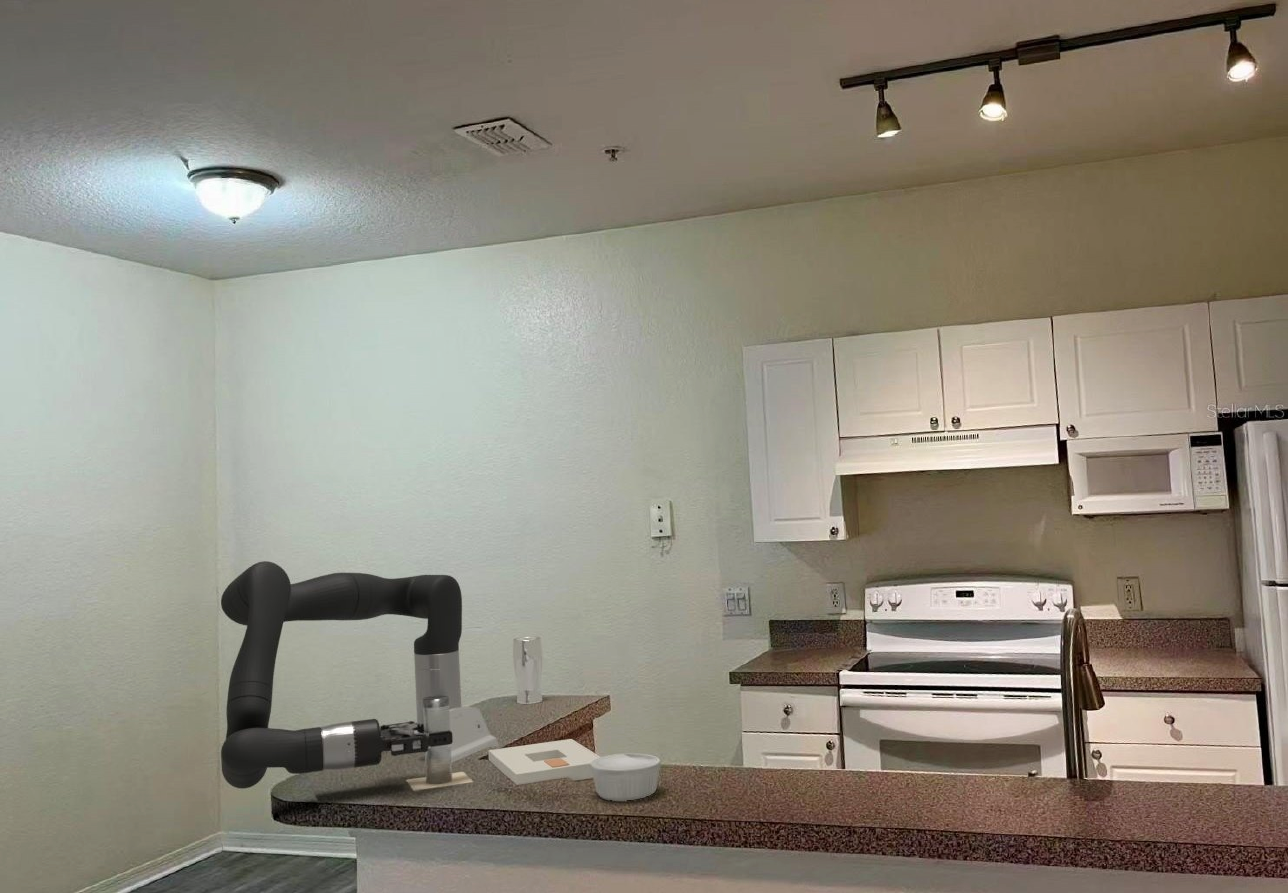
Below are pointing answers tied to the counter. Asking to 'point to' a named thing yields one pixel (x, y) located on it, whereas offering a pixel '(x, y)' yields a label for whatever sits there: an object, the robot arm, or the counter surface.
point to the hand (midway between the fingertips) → (447, 732)
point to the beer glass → (528, 669)
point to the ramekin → (625, 776)
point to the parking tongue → (421, 784)
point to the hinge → (469, 732)
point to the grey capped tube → (437, 756)
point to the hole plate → (544, 761)
